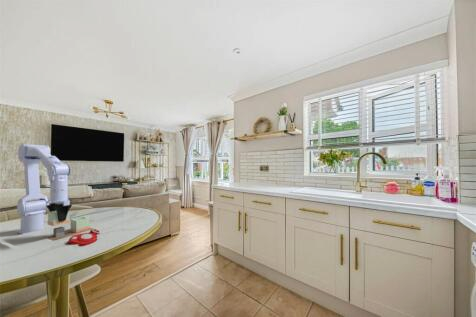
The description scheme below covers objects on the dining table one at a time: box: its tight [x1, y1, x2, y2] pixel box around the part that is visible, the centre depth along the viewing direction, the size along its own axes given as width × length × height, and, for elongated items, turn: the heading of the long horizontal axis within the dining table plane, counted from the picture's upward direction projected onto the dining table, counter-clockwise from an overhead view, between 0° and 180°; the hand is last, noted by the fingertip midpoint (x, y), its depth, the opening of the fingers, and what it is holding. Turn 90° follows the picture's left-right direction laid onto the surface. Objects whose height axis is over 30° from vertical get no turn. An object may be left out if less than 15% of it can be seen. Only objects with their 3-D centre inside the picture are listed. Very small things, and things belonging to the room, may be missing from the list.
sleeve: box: [47, 210, 71, 227], centre depth 83 cm, size 6×6×6 cm
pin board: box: [44, 226, 94, 241], centre depth 86 cm, size 10×15×4 cm, turn 155°
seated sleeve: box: [69, 216, 91, 232], centre depth 90 cm, size 6×6×6 cm
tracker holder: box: [67, 228, 101, 247], centre depth 79 cm, size 12×4×10 cm
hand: (59, 220), depth 83 cm, fingers closed on sleeve, 5 cm apart
